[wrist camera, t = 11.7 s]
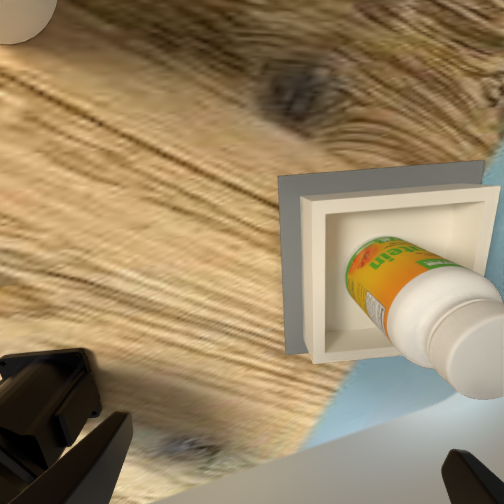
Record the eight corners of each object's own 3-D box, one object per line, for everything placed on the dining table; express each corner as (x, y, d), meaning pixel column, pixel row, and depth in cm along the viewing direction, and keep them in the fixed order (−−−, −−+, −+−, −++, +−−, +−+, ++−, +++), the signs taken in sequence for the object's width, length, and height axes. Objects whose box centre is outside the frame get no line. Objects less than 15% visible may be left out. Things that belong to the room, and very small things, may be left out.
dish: (303, 338, 22) (313, 364, 19) (300, 196, 19) (311, 201, 16) (440, 325, 22) (470, 348, 20) (461, 183, 19) (501, 185, 16)
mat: (285, 351, 23) (286, 355, 22) (277, 176, 19) (278, 176, 18) (450, 335, 23) (455, 338, 23) (478, 160, 19) (484, 160, 19)
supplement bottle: (408, 223, 19) (569, 277, 10) (420, 290, 21) (567, 391, 11) (333, 249, 19) (421, 325, 10) (350, 313, 21) (440, 430, 12)
